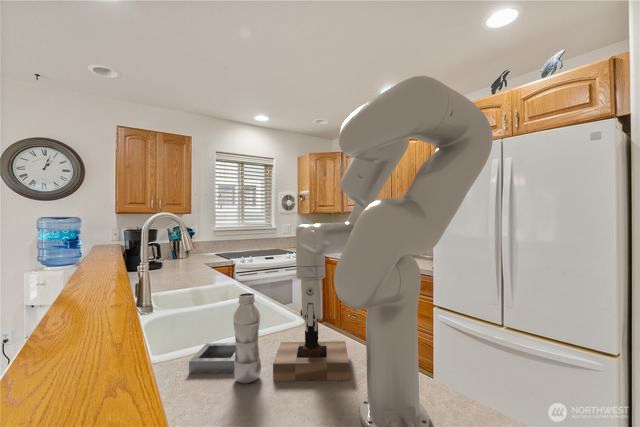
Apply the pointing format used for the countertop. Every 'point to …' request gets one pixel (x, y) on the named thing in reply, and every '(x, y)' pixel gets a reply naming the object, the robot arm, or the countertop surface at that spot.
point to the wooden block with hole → (311, 362)
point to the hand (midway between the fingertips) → (311, 342)
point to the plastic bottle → (246, 340)
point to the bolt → (311, 351)
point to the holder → (213, 359)
